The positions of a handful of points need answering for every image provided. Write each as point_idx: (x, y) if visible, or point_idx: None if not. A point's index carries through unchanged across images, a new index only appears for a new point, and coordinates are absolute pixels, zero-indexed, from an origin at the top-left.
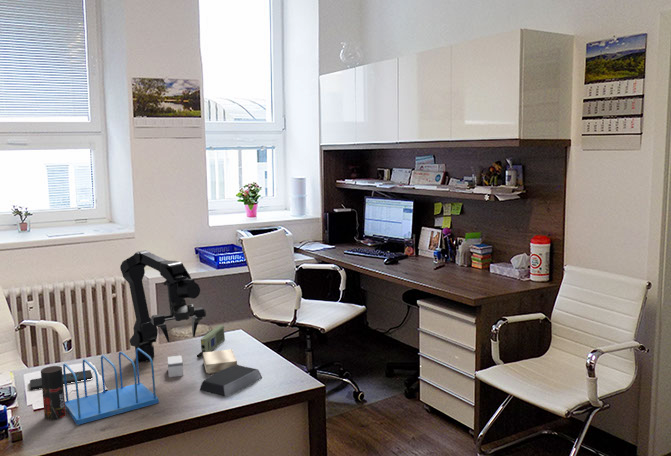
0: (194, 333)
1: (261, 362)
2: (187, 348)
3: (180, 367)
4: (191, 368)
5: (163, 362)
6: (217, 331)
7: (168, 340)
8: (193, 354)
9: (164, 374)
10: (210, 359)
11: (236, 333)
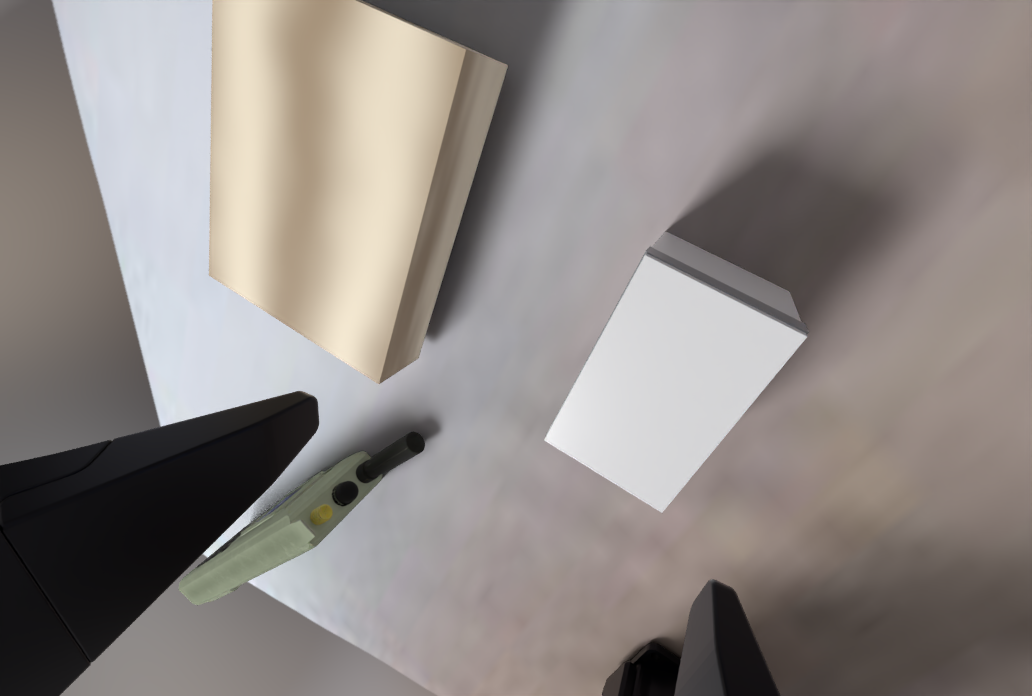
0: (249, 412)
1: (149, 57)
2: (413, 593)
3: (676, 256)
4: (534, 321)
5: (619, 565)
6: (217, 555)
7: (729, 605)
8: (421, 508)
9: None
10: (382, 179)
11: None
